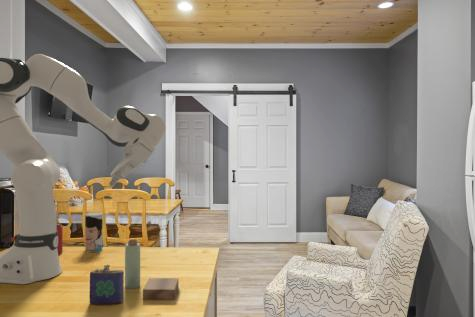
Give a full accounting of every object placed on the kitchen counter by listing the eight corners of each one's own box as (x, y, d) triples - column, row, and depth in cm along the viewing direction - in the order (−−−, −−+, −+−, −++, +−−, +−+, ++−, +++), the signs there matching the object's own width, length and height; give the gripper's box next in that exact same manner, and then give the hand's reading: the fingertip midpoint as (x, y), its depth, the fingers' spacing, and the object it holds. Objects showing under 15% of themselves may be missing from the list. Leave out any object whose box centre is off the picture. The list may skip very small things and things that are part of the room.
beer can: (55, 256, 145) (55, 226, 145) (40, 255, 146) (40, 225, 146) (66, 251, 152) (66, 222, 151) (51, 250, 153) (51, 221, 152)
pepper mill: (123, 288, 114) (123, 240, 113) (127, 283, 119) (127, 236, 118) (138, 288, 114) (138, 240, 114) (141, 283, 119) (141, 236, 118)
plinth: (142, 299, 106) (142, 289, 106) (149, 287, 115) (149, 278, 115) (174, 299, 106) (174, 289, 106) (178, 287, 115) (178, 278, 115)
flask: (124, 300, 106) (124, 263, 105) (122, 304, 103) (122, 266, 102) (91, 301, 105) (90, 263, 104) (87, 305, 102) (87, 267, 101)
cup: (84, 248, 157) (84, 213, 156) (101, 246, 160) (101, 212, 159) (86, 252, 151) (86, 216, 150) (103, 250, 154) (103, 214, 153)
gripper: (118, 155, 137) (97, 184, 128) (142, 135, 122) (120, 166, 113) (132, 166, 139) (112, 195, 130) (157, 147, 124) (136, 178, 116)
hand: (116, 181), depth 122 cm, fingers open, 8 cm apart
